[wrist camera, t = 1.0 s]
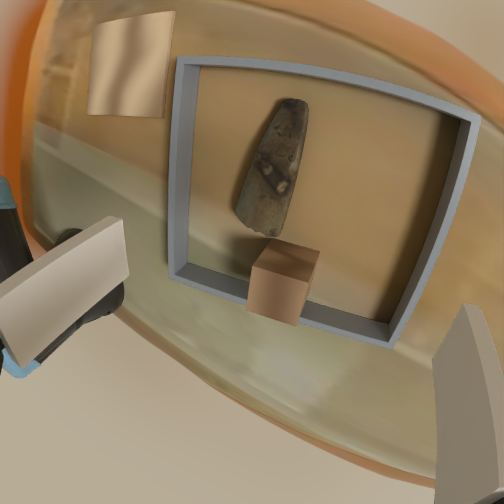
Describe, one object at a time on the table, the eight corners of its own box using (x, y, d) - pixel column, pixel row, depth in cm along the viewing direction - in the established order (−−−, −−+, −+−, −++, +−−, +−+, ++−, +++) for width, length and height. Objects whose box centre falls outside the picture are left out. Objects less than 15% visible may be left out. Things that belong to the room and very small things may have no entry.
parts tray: (181, 266, 38) (168, 278, 35) (194, 58, 26) (177, 56, 23) (392, 331, 32) (392, 349, 29) (470, 114, 20) (481, 116, 17)
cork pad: (90, 114, 33) (87, 114, 32) (97, 25, 27) (94, 25, 26) (164, 117, 30) (161, 118, 29) (175, 11, 24) (173, 10, 23)
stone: (283, 234, 31) (276, 243, 29) (238, 216, 32) (228, 224, 30) (321, 105, 24) (316, 104, 22) (268, 91, 25) (259, 89, 23)
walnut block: (265, 278, 34) (245, 309, 29) (272, 237, 32) (252, 265, 27) (309, 291, 33) (296, 326, 28) (320, 251, 31) (308, 282, 26)
